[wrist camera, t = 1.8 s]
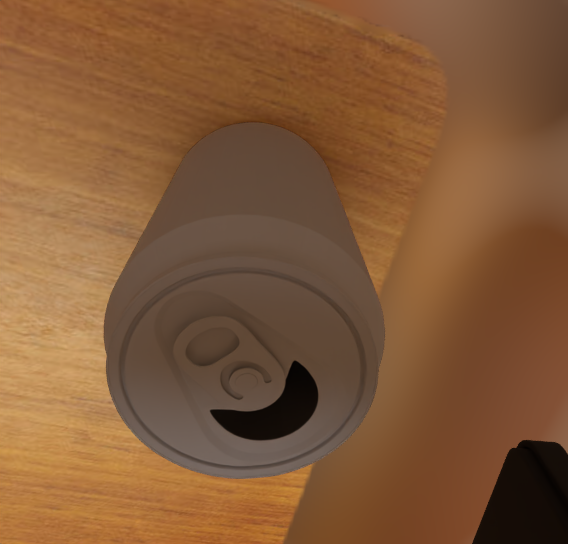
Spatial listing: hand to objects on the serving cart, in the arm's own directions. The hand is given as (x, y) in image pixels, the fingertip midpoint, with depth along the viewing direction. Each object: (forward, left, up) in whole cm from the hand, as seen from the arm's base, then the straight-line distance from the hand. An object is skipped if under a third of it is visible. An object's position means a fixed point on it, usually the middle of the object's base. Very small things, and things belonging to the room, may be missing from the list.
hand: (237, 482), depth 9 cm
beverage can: (0, 0, -14) cm, 14 cm away
